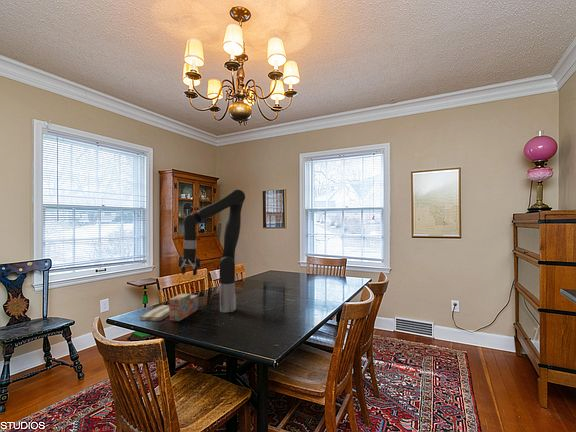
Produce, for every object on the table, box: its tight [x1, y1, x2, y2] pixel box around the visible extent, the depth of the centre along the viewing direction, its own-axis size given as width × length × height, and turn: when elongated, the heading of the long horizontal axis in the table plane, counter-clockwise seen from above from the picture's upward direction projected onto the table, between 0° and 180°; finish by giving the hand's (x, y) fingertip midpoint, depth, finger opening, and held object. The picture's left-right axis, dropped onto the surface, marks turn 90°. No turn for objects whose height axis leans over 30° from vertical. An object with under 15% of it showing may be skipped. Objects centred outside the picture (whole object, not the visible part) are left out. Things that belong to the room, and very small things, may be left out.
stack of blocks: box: [168, 293, 199, 322], centre depth 176 cm, size 21×6×12 cm, turn 168°
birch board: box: [139, 304, 169, 322], centre depth 178 cm, size 12×22×2 cm, turn 174°
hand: (188, 274), depth 179 cm, fingers open, 8 cm apart
